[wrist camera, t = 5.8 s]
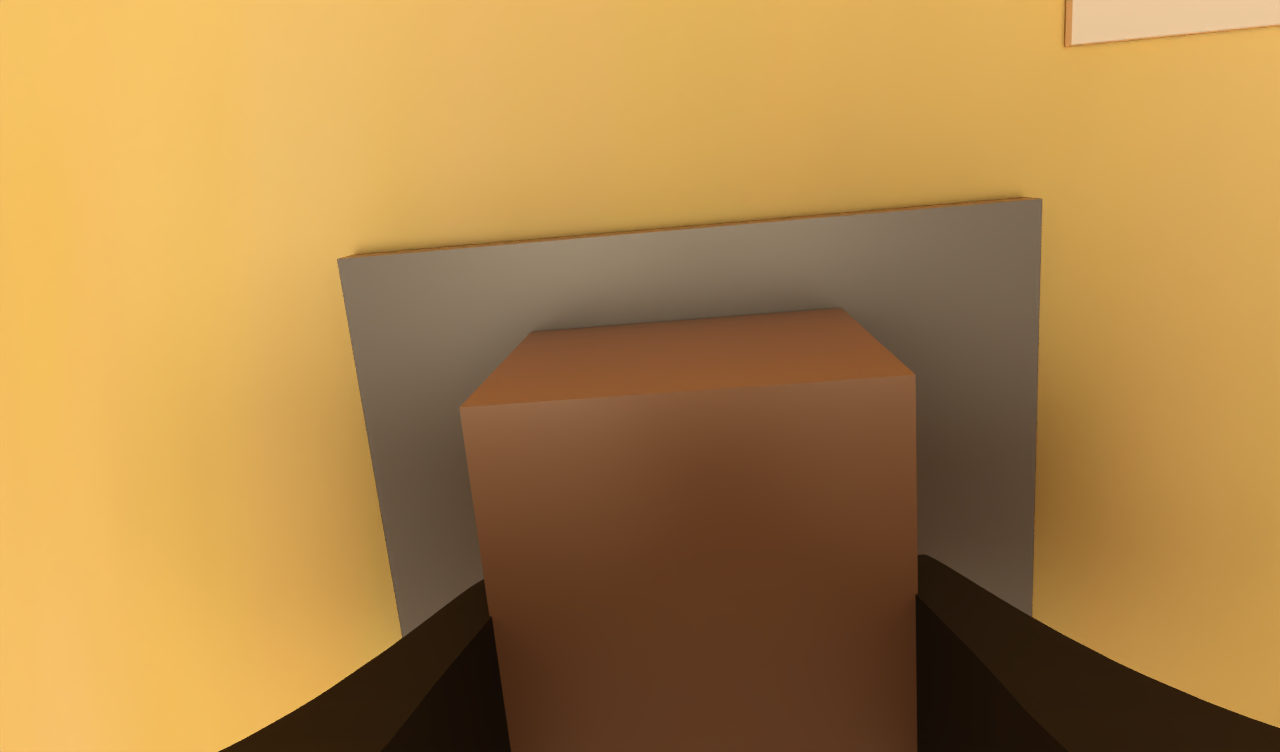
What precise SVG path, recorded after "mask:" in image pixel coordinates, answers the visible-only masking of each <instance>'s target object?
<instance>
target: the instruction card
mask: <svg viewBox="0 0 1280 752" xmlns="http://www.w3.org/2000/svg"><path fill="white" fill-rule="evenodd" d="M1272 26H1280V0H1066V31H1065V47H1068V46H1078V45H1089V44H1099V43H1109V42H1119V41H1129V40H1140V39H1150V38H1160V37H1170V36H1180V35H1190V34H1201V33H1211V32H1221V31H1231V30H1241V29H1252V28H1262V27H1272Z"/></svg>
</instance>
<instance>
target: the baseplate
mask: <svg viewBox="0 0 1280 752" xmlns="http://www.w3.org/2000/svg"><path fill="white" fill-rule="evenodd" d="M1041 222H1042V199H1039V198H1028V197H1022V198H1011V199H999V200H987V201H976V202H964V203H952V204H941V205H929V206H917V207H906V208H894V209H882V210H871V211H859V212H847V213H836V214H824V215H813V216H801V217H789V218H778V219H766V220H754V221H743V222H731V223H719V224H708V225H696V226H684V227H673V228H661V229H649V230H638V231H626V232H614V233H603V234H591V235H579V236H568V237H556V238H544V239H533V240H521V241H509V242H498V243H486V244H474V245H463V246H451V247H439V248H428V249H416V250H404V251H393V252H381V253H369V254H358V255H351V256H347V257H343V258H339V259H337V262H338V267H339V273H340V279H341V285H342V291H343V296H344V302H345V308H346V314H347V320H348V325H349V331H350V337H351V343H352V349H353V354H354V360H355V366H356V372H357V377H358V383H359V389H360V395H361V401H362V406H363V412H364V418H365V424H366V430H367V435H368V441H369V447H370V453H371V459H372V464H373V470H374V476H375V482H376V488H377V493H378V499H379V505H380V511H381V517H382V522H383V528H384V534H385V540H386V546H387V551H388V557H389V563H390V569H391V575H392V580H393V586H394V592H395V598H396V604H397V609H398V615H399V621H400V627H401V632H402V638H403V637H404V636H406V635H407V634H408V633H410V632H411V631H412V630H414V629H415V628H416V627H418V626H419V625H420V624H422V623H423V622H424V621H426V620H427V619H428V618H430V617H431V616H432V615H434V614H435V613H436V612H437V611H439V610H440V609H441V608H443V607H444V606H445V605H447V604H448V603H449V602H451V601H452V600H453V599H455V598H456V597H457V596H459V595H460V594H461V593H463V592H464V591H465V590H467V589H468V588H470V587H471V586H473V585H474V584H476V583H478V582H479V581H481V580H483V579H484V575H483V568H482V561H481V554H480V547H479V540H478V534H477V527H476V520H475V513H474V506H473V499H472V492H471V485H470V478H469V471H468V464H467V457H466V450H465V444H464V437H463V430H462V423H461V416H460V409H459V407H460V406H461V405H462V404H463V403H464V402H465V401H466V400H467V399H468V398H469V397H470V396H471V395H472V393H473V392H474V391H475V390H476V389H477V388H478V387H479V386H480V385H481V384H482V383H483V382H484V381H485V380H486V379H487V378H488V377H489V376H490V374H491V373H492V372H493V371H494V370H495V369H496V368H497V367H498V366H499V365H500V364H501V363H502V362H503V361H504V360H505V359H506V358H507V357H508V355H509V354H510V353H511V352H512V351H513V350H514V349H515V348H516V347H517V346H518V345H519V344H520V343H521V342H522V341H523V340H524V339H525V338H526V336H527V335H528V334H529V333H530V332H536V331H549V330H562V329H575V328H588V327H601V326H614V325H627V324H640V323H652V322H665V321H678V320H691V319H704V318H717V317H730V316H743V315H756V314H768V313H781V312H794V311H807V310H820V309H833V308H842V309H843V310H844V311H845V312H847V313H848V314H849V315H850V316H851V317H852V318H853V319H854V320H855V321H857V322H858V323H859V324H860V325H861V326H862V327H863V328H864V329H865V330H866V331H868V332H869V333H870V334H871V335H872V336H873V337H874V338H875V339H876V340H878V341H879V342H880V343H881V344H882V345H883V346H884V347H885V348H886V349H887V350H889V351H890V352H891V353H892V354H893V355H894V356H895V357H896V358H897V359H899V360H900V361H901V362H902V363H903V364H904V365H905V366H906V367H907V368H908V369H910V370H911V371H912V372H913V373H914V374H915V377H916V467H917V555H923V554H925V555H928V556H930V557H932V558H934V559H936V560H938V561H939V562H941V563H943V564H945V565H946V566H948V567H950V568H951V569H953V570H955V571H956V572H958V573H960V574H961V575H963V576H965V577H966V578H968V579H969V580H971V581H973V582H974V583H976V584H978V585H979V586H981V587H982V588H984V589H986V590H987V591H989V592H991V593H992V594H994V595H995V596H997V597H999V598H1000V599H1002V600H1004V601H1005V602H1007V603H1009V604H1010V605H1012V606H1014V607H1015V608H1017V609H1019V610H1020V611H1022V612H1024V613H1026V614H1027V615H1029V616H1031V617H1032V596H1033V554H1034V513H1035V471H1036V429H1037V388H1038V346H1039V305H1040V263H1041Z"/></svg>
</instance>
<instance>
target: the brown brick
mask: <svg viewBox="0 0 1280 752" xmlns="http://www.w3.org/2000/svg"><path fill="white" fill-rule="evenodd" d="M459 409H460V416H461V423H462V430H463V437H464V444H465V450H466V457H467V464H468V471H469V478H470V485H471V492H472V499H473V506H474V513H475V520H476V527H477V534H478V540H479V547H480V554H481V561H482V568H483V575H484V582H485V589H486V596H487V603H488V610H489V617H490V616H492V622H493V629H494V636H495V643H496V650H497V656H498V663H499V670H500V677H501V684H502V691H503V698H504V705H505V712H506V719H507V726H508V733H509V740H510V747H511V752H917V686H916V601H915V594H918V557H917V467H916V377H915V374H914V373H913V372H912V371H911V370H910V369H908V368H907V367H906V366H905V365H904V364H903V363H902V362H901V361H900V360H899V359H897V358H896V357H895V356H894V355H893V354H892V353H891V352H890V351H889V350H887V349H886V348H885V347H884V346H883V345H882V344H881V343H880V342H879V341H878V340H876V339H875V338H874V337H873V336H872V335H871V334H870V333H869V332H868V331H866V330H865V329H864V328H863V327H862V326H861V325H860V324H859V323H858V322H857V321H855V320H854V319H853V318H852V317H851V316H850V315H849V314H848V313H847V312H845V311H844V310H843V309H842V308H833V309H820V310H807V311H794V312H781V313H768V314H756V315H743V316H730V317H717V318H704V319H691V320H678V321H665V322H652V323H640V324H627V325H614V326H601V327H588V328H575V329H562V330H549V331H536V332H530V333H529V334H528V335H527V336H526V338H525V339H524V340H523V341H522V342H521V343H520V344H519V345H518V346H517V347H516V348H515V349H514V350H513V351H512V352H511V353H510V354H509V355H508V357H507V358H506V359H505V360H504V361H503V362H502V363H501V364H500V365H499V366H498V367H497V368H496V369H495V370H494V371H493V372H492V373H491V374H490V376H489V377H488V378H487V379H486V380H485V381H484V382H483V383H482V384H481V385H480V386H479V387H478V388H477V389H476V390H475V391H474V392H473V393H472V395H471V396H470V397H469V398H468V399H467V400H466V401H465V402H464V403H463V404H462V405H461V406H460V407H459Z"/></svg>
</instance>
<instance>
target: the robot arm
mask: <svg viewBox="0 0 1280 752" xmlns="http://www.w3.org/2000/svg"><path fill="white" fill-rule="evenodd" d="M917 557H918V594H915V601H916V686H917V752H1280V728H1277V727H1275V726H1272V725H1269V724H1266V723H1263V722H1260V721H1257V720H1254V719H1251V718H1248V717H1245V716H1243V715H1240V714H1238V713H1235V712H1232V711H1230V710H1227V709H1224V708H1222V707H1219V706H1216V705H1214V704H1211V703H1209V702H1206V701H1204V700H1201V699H1199V698H1197V697H1194V696H1192V695H1190V694H1187V693H1185V692H1182V691H1180V690H1178V689H1175V688H1173V687H1171V686H1168V685H1166V684H1164V683H1161V682H1159V681H1157V680H1154V679H1152V678H1150V677H1147V676H1145V675H1143V674H1140V673H1138V672H1136V671H1134V670H1132V669H1130V668H1128V667H1126V666H1123V665H1121V664H1119V663H1117V662H1115V661H1113V660H1111V659H1109V658H1107V657H1105V656H1103V655H1101V654H1099V653H1097V652H1095V651H1094V650H1092V649H1090V648H1088V647H1086V646H1084V645H1082V644H1080V643H1078V642H1076V641H1074V640H1072V639H1070V638H1068V637H1066V636H1065V635H1063V634H1061V633H1059V632H1057V631H1056V630H1054V629H1052V628H1050V627H1048V626H1047V625H1045V624H1043V623H1041V622H1039V621H1038V620H1036V619H1034V618H1032V617H1031V616H1029V615H1027V614H1026V613H1024V612H1022V611H1020V610H1019V609H1017V608H1015V607H1014V606H1012V605H1010V604H1009V603H1007V602H1005V601H1004V600H1002V599H1000V598H999V597H997V596H995V595H994V594H992V593H991V592H989V591H987V590H986V589H984V588H982V587H981V586H979V585H978V584H976V583H974V582H973V581H971V580H969V579H968V578H966V577H965V576H963V575H961V574H960V573H958V572H956V571H955V570H953V569H951V568H950V567H948V566H946V565H945V564H943V563H941V562H939V561H938V560H936V559H934V558H932V557H930V556H928V555H925V554H923V555H917ZM219 752H511V747H510V740H509V733H508V726H507V719H506V712H505V705H504V698H503V691H502V684H501V677H500V670H499V663H498V656H497V650H496V643H495V636H494V629H493V622H492V616H490V617H489V610H488V603H487V596H486V589H485V582H484V579H483V580H481V581H479V582H478V583H476V584H474V585H473V586H471V587H470V588H468V589H467V590H465V591H464V592H463V593H461V594H460V595H459V596H457V597H456V598H455V599H453V600H452V601H451V602H449V603H448V604H447V605H445V606H444V607H443V608H441V609H440V610H439V611H437V612H436V613H435V614H434V615H432V616H431V617H430V618H428V619H427V620H426V621H424V622H423V623H422V624H420V625H419V626H418V627H416V628H415V629H414V630H412V631H411V632H410V633H408V634H407V635H406V636H404V637H403V638H402V639H400V640H399V641H398V642H396V643H395V644H394V645H392V646H391V647H390V648H388V649H387V650H386V651H384V652H383V653H381V654H380V655H378V656H377V657H375V658H374V659H372V660H371V661H370V662H368V663H367V664H365V665H364V666H362V667H361V668H359V669H358V670H356V671H355V672H353V673H352V674H351V675H349V676H348V677H346V678H345V679H343V680H342V681H340V682H339V683H337V684H336V685H335V686H333V687H332V688H330V689H329V690H327V691H326V692H324V693H322V694H321V695H319V696H318V697H316V698H315V699H313V700H311V701H310V702H308V703H306V704H305V705H303V706H301V707H300V708H298V709H296V710H295V711H293V712H291V713H290V714H288V715H286V716H284V717H283V718H281V719H279V720H277V721H276V722H274V723H272V724H270V725H268V726H267V727H265V728H263V729H261V730H259V731H258V732H256V733H254V734H252V735H250V736H249V737H247V738H245V739H243V740H241V741H239V742H237V743H235V744H233V745H231V746H229V747H227V748H225V749H223V750H221V751H219Z"/></svg>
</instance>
